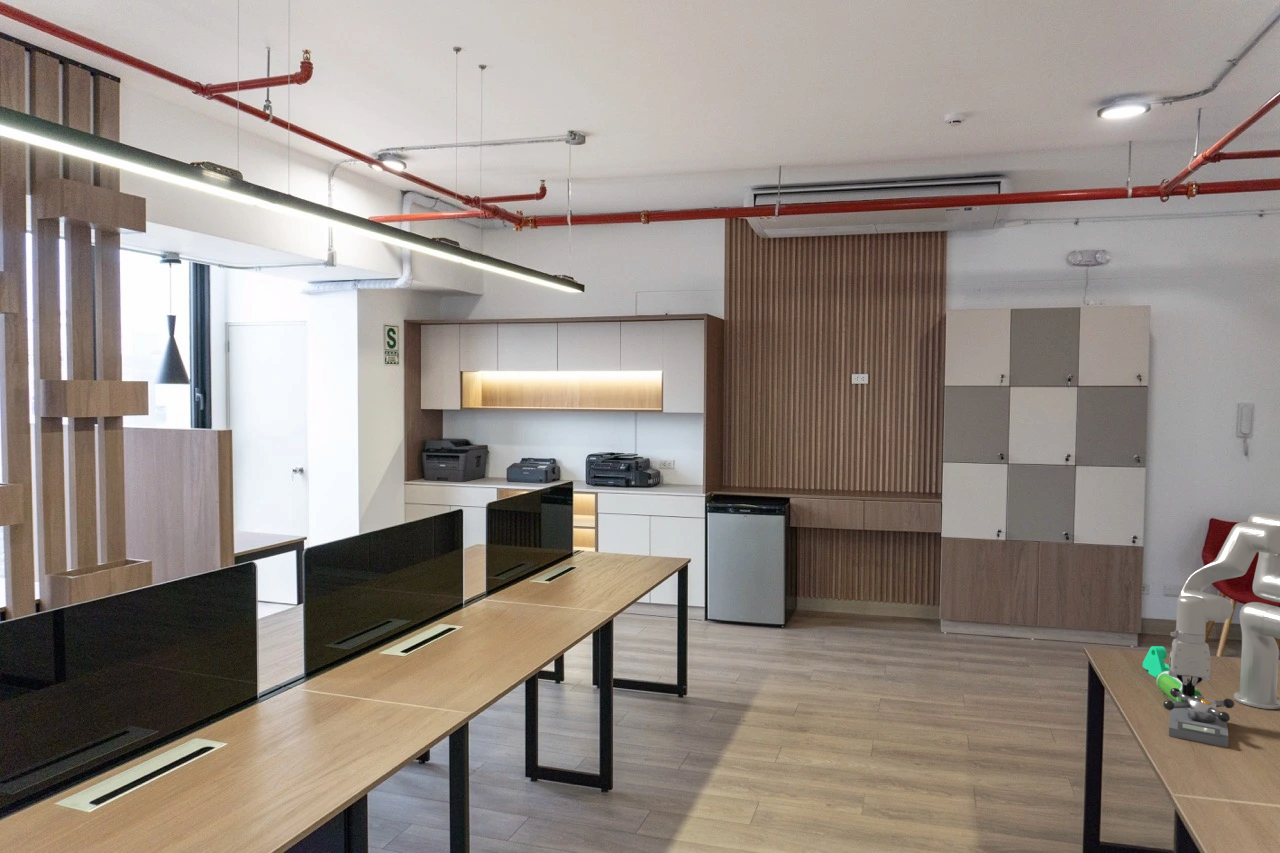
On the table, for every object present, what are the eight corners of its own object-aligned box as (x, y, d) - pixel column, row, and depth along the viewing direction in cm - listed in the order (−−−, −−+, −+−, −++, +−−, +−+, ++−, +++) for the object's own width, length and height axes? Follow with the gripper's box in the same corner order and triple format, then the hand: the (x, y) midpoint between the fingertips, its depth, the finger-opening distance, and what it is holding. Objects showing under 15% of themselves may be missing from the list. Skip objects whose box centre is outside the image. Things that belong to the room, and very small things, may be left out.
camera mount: (1185, 682, 292) (1186, 652, 291) (1162, 681, 292) (1163, 652, 291) (1164, 670, 304) (1165, 641, 303) (1142, 670, 304) (1143, 641, 303)
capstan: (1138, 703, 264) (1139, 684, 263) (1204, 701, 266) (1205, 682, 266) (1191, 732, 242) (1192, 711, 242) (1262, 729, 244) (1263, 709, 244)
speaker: (1204, 712, 264) (1205, 688, 264) (1178, 711, 266) (1179, 687, 265) (1178, 692, 282) (1179, 669, 281) (1153, 690, 283) (1155, 668, 282)
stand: (1170, 711, 265) (1171, 696, 264) (1225, 721, 257) (1226, 706, 257) (1168, 736, 246) (1169, 720, 245) (1228, 748, 238) (1229, 731, 238)
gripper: (1164, 638, 259) (1162, 698, 260) (1223, 643, 254) (1220, 704, 255) (1159, 631, 266) (1157, 689, 267) (1215, 636, 261) (1213, 696, 262)
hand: (1188, 696), depth 261 cm, fingers closed
